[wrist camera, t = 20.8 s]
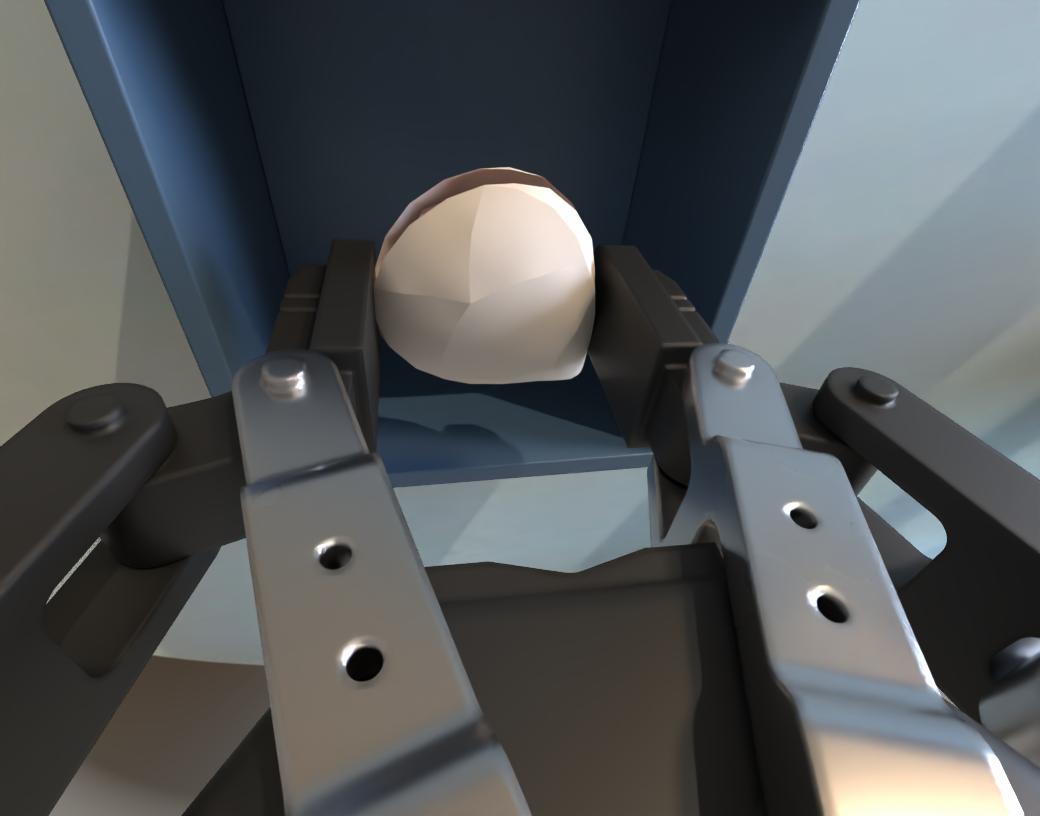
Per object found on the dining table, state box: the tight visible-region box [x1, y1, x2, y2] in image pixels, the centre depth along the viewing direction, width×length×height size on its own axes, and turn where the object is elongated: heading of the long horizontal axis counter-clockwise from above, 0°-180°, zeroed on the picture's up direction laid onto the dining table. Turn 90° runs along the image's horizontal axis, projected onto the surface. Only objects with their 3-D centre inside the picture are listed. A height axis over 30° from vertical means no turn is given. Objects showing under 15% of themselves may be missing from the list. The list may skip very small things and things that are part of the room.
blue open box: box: [44, 0, 860, 488], centre depth 14 cm, size 7×12×12 cm
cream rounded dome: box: [373, 167, 595, 384], centre depth 11 cm, size 4×5×2 cm
